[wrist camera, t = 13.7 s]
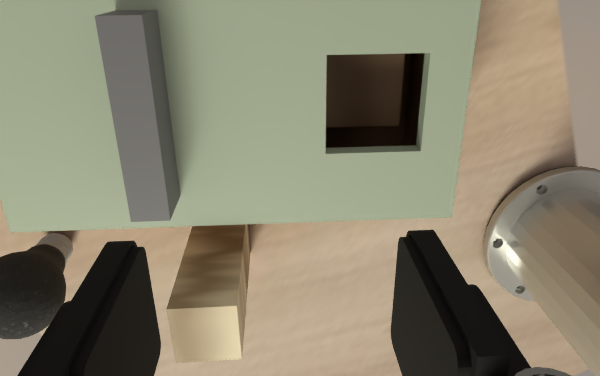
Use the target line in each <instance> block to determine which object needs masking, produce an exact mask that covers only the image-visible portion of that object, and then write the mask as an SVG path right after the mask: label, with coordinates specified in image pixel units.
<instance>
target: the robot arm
mask: <svg viewBox="0 0 600 376" xmlns="http://www.w3.org/2000/svg"><path fill="white" fill-rule="evenodd" d="M484 258H485V262H486V265H487V267H488V269H489V271H490V273H491V275H492V276H493V277H494V279H495V280H496V281H497V283H498V284H499V285H500V286H501V287H502V288H503V289H504V290H506V291H507V292H508V293H510V294H512V295H513V296H515V297H518V298H521V299H524V300H528V301H535V302H537V304H538V305H539V306H540V307H541V309H542V310H543V311H544V312H545V314H546V315H547V316H548V317H549V319H550V320H551V321H552V322H553V324H554V325H555V326H556V328H557V329H558V330H559V331H560V333H561V334H562V335H563V336H564V338H565V339H566V340H567V341H568V343H569V344H570V345H571V346H572V348H573V349H574V350H575V351H576V353H577V354H578V355H579V356H580V358H581V359H582V360H583V361H584V363H585V364H586V365H587V367H588V368H589V369H590V370H591V371H592V373H593V374H594V375H595V376H600V170H597V169H594V168H587V167H564V168H559V169H554V170H550V171H548V172H545V173H542V174H540V175H537V176H535V177H533V178H532V179H530V180H528V181H526V182H524V183H523V184H521V185H520V186H519V187H518V188H516V189H515V190H514V191H513V192H511V193H510V194H509V195H508V196H507V197H506V198H505V199H504V201H503V202H502V203H501V204H500V205H499V207H498V208H497V210H496V211H495V213H494V214H493V216H492V217H491V220H490V222H489V224H488V226H487V229H486V233H485V237H484ZM391 339H392V344H393V348H394V351H395V354H396V357H397V360H398V363H399V367H400V370H401V373H402V376H571V375H569V374H567V373H565V372H561V371H558V370H554V369H551V368H542V367H534V368H531V367H530V366H529V364H528V362H527V361H526V359H525V358H524V356H523V355H522V353H521V352H520V350H519V349H518V347H517V346H516V344H515V342H514V341H513V339H512V338H511V336H510V335H509V333H508V332H507V330H506V329H505V327H504V326H503V324H502V322H501V321H500V319H499V318H498V316H497V315H496V313H495V312H494V310H493V309H492V307H491V306H490V304H489V302H488V301H487V299H486V298H485V296H484V295H483V293H482V292H481V290H480V289H479V288H478V287H477V286H476V285H468V284H467V283H466V281H465V279H464V278H463V276H462V275H461V273H460V271H459V270H458V268H457V267H456V265H455V263H454V262H453V260H452V259H451V257H450V255H449V254H448V252H447V250H446V249H445V247H444V246H443V244H442V242H441V241H440V239H439V238H438V236H437V234H436V233H435V232H434V230H417V231H408V232H407V235H406V237H400V238H399V242H398V252H397V264H396V275H395V287H394V299H393V311H392V323H391ZM160 349H161V341H160V334H159V328H158V322H157V316H156V310H155V304H154V298H153V293H152V287H151V281H150V275H149V269H148V263H147V257H146V252H145V249H144V247H137V245H136V243H135V242H134V241H114V242H107V243H106V244H105V246H104V248H103V249H102V251H101V253H100V254H99V256H98V258H97V259H96V261H95V262H94V264H93V266H92V267H91V269H90V271H89V272H88V274H87V276H86V277H85V279H84V281H83V282H82V284H81V286H80V287H79V289H78V290H77V292H76V294H75V295H74V297H73V299H72V300H71V301H68V302H65V303H64V304H63V305H62V306H61V307H60V309H59V310H58V312H57V314H56V315H55V317H54V318H53V320H52V321H51V323H50V325H49V326H48V328H47V329H46V331H45V333H44V334H43V336H42V337H41V339H40V341H39V342H38V344H37V346H36V347H35V349H34V350H33V352H32V354H31V355H30V357H29V358H28V360H27V361H26V363H25V364H24V366H23V368H22V369H21V371H20V372H19V374H18V376H154V373H155V370H156V366H157V363H158V360H159V356H160Z"/></svg>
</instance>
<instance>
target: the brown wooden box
mask: <svg viewBox="0 0 600 376" xmlns="http://www.w3.org/2000/svg"><path fill="white" fill-rule="evenodd" d="M424 55H425V53H404V54H352V55H327V70H326V148H338V147H374V146H410V145H416V140H417V129H418V119H419V108H420V97H421V87H422V76H423V66H424Z"/></svg>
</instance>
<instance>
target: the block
mask: <svg viewBox="0 0 600 376" xmlns="http://www.w3.org/2000/svg"><path fill="white" fill-rule="evenodd" d="M249 263H250V244H249V231H248V224H242V225H213V226H192V229H191V233H190V236H189V239H188V242H187V245H186V249H185V252H184V255H183V258H182V261H181V265H180V268H179V271H178V274H177V277H176V281H175V284H174V287H173V290H172V293H171V297H170V300H169V303H168V306H167V309H166V310H167V315H168V321H169V327H170V333H171V339H172V344H173V350H174V356H175V362H176V363H179V362H197V361H215V360H233V359H242V352H243V339H244V326H245V313H246V301H247V288H248V275H249Z"/></svg>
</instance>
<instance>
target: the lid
mask: <svg viewBox="0 0 600 376" xmlns="http://www.w3.org/2000/svg"><path fill="white" fill-rule="evenodd" d="M480 5H481V0H0V199H1V203H2V206H3V210H4V213H5V216H6V220H7V223H8V226H9V230H10V232H38V231H67V230H96V229H125V228H154V227H183V226H213V225H242V224H271V223H300V222H329V221H358V220H388V219H417V218H446V217H452V212H453V205H454V197H455V190H456V183H457V175H458V168H459V161H460V153H461V146H462V138H463V131H464V124H465V116H466V109H467V101H468V94H469V87H470V79H471V72H472V65H473V57H474V50H475V42H476V35H477V28H478V20H479V13H480ZM404 53H425V55H424V66H423V76H422V87H421V97H420V108H419V119H418V129H417V140H416V145H410V146H374V147H338V148H326V70H327V55H352V54H404Z"/></svg>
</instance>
